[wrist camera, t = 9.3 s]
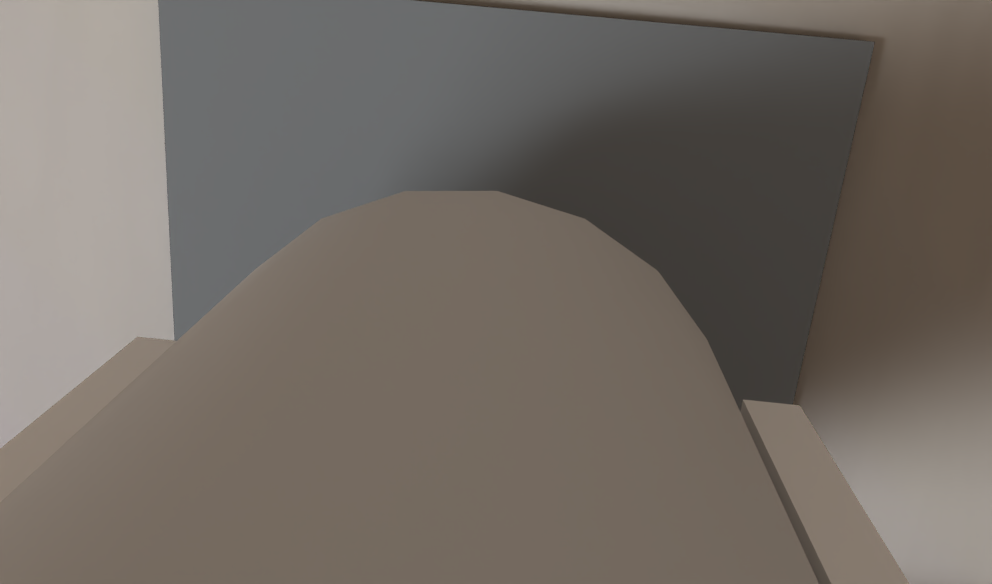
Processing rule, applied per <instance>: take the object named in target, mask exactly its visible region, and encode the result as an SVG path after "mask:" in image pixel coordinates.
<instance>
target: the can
mask: <svg viewBox="0 0 992 584" xmlns="http://www.w3.org/2000/svg"><path fill="white" fill-rule="evenodd" d="M0 584H819V583H818V580H817V578H816V576H815V574H814V572H813V569H812V567H811V565H810V563H809V561H808V559H807V556H806V554H805V552H804V550H803V548H802V545H801V543H800V541H799V539H798V537H797V535H796V532H795V530H794V528H793V526H792V524H791V521H790V519H789V517H788V515H787V513H786V511H785V508H784V506H783V504H782V502H781V500H780V497H779V495H778V493H777V491H776V489H775V487H774V484H773V482H772V480H771V478H770V476H769V474H768V471H767V469H766V467H765V465H764V463H763V460H762V458H761V456H760V454H759V452H758V450H757V447H756V445H755V443H754V441H753V439H752V436H751V434H750V432H749V430H748V428H747V426H746V423H745V421H744V419H743V417H742V415H741V412H740V410H739V408H738V406H737V404H736V402H735V399H734V397H733V395H732V393H731V391H730V388H729V386H728V384H727V382H726V380H725V378H724V375H723V373H722V371H721V369H720V367H719V365H718V362H717V360H716V358H715V356H714V354H713V351H712V349H711V347H710V345H709V343H708V341H707V339H706V337H705V336H704V334H703V333H702V332H701V330H700V329H699V328H698V326H697V325H696V323H695V322H694V321H693V319H692V318H691V316H690V315H689V314H688V312H687V311H686V309H685V308H684V307H683V305H682V304H681V302H680V301H679V300H678V298H677V297H676V295H675V294H674V293H673V291H672V290H671V288H670V287H669V286H668V284H667V283H666V281H665V280H664V279H663V277H662V276H661V274H660V273H659V272H658V271H657V270H656V269H655V268H653V267H652V266H650V265H649V264H648V263H646V262H645V261H643V260H642V259H641V258H639V257H638V256H636V255H635V254H634V253H632V252H631V251H629V250H628V249H627V248H625V247H624V246H622V245H621V244H620V243H618V242H617V241H615V240H614V239H613V238H611V237H610V236H608V235H607V234H606V233H604V232H603V231H601V230H600V229H599V228H597V227H596V226H594V225H593V224H592V223H590V222H589V221H587V220H586V219H584V218H581V217H578V216H575V215H572V214H568V213H565V212H562V211H559V210H556V209H553V208H549V207H546V206H543V205H540V204H537V203H534V202H531V201H527V200H524V199H521V198H518V197H515V196H512V195H509V194H505V193H502V192H499V191H404V192H401V193H398V194H394V195H391V196H388V197H385V198H382V199H379V200H376V201H373V202H370V203H367V204H364V205H361V206H358V207H355V208H352V209H349V210H346V211H343V212H340V213H337V214H334V215H331V216H328V217H325V218H322V219H320V220H319V221H318V222H316V223H315V224H314V225H312V226H311V227H310V228H308V229H307V230H306V231H304V232H303V233H302V234H301V235H299V236H298V237H297V238H295V239H294V240H293V241H291V242H290V243H289V244H287V245H286V246H285V247H284V248H282V249H281V250H280V251H278V252H277V253H276V254H274V255H273V256H272V257H270V258H269V259H268V260H267V261H265V262H264V263H263V264H261V265H260V266H259V267H257V268H256V269H255V270H254V271H253V272H252V273H251V274H249V275H248V276H247V277H246V278H245V279H244V280H243V281H242V282H241V283H240V284H238V285H237V286H236V287H235V288H234V289H233V290H232V291H231V292H230V293H229V294H228V295H226V296H225V297H224V298H223V299H222V300H221V301H220V302H219V303H218V304H217V305H216V306H214V307H213V308H212V309H211V310H210V311H209V312H208V313H207V314H206V315H205V316H203V317H202V318H201V319H200V320H199V321H198V322H197V323H196V324H195V325H194V326H193V327H191V328H190V329H189V330H188V331H187V332H186V333H185V334H184V335H183V336H182V337H181V338H179V339H178V340H177V341H176V342H175V343H174V344H173V345H172V346H171V347H170V348H168V349H167V350H166V351H165V352H164V353H163V354H162V355H161V356H160V357H159V358H158V359H156V360H155V361H154V362H153V363H152V364H151V365H150V366H149V367H148V368H147V369H146V370H144V371H143V372H142V373H141V374H140V375H139V376H138V377H137V378H136V379H135V380H133V381H132V382H131V383H130V384H129V385H128V386H127V387H126V388H125V389H124V390H123V391H121V392H120V393H119V394H118V395H117V396H116V397H115V398H114V399H113V400H112V401H111V402H109V403H108V404H107V405H106V406H105V407H104V408H103V409H102V410H101V411H100V412H98V413H97V414H96V415H95V416H94V417H93V418H92V419H91V420H90V421H89V422H88V423H86V424H85V425H84V426H83V427H82V428H81V429H80V430H79V431H78V432H77V433H75V434H74V435H73V436H72V437H71V438H70V439H69V440H68V441H67V442H66V443H65V444H63V445H62V446H61V447H60V448H59V449H58V450H57V451H56V452H55V453H54V454H53V455H51V456H50V457H49V458H48V459H47V460H46V461H45V462H44V463H43V464H42V465H40V466H39V467H38V468H37V469H36V470H35V471H34V472H33V473H32V474H31V475H30V476H28V477H27V478H26V479H25V480H24V481H23V482H22V483H21V484H20V485H19V486H18V487H16V488H15V489H14V490H13V491H12V492H11V493H10V494H9V495H8V496H7V497H5V498H4V499H3V500H2V501H1V502H0Z"/></svg>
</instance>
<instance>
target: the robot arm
mask: <svg viewBox="0 0 992 584" xmlns="http://www.w3.org/2000/svg"><path fill="white" fill-rule="evenodd" d="M175 342H176V341H173V340H163V339H154V338H144V337H137V338H136V339H134V340H133V341H132V342H131V343H129V344H128V345H127V346H126V347H124V348H123V349H122V350H121V351H120V352H118V353H117V354H116V355H115V356H113V357H112V358H111V359H110V360H109V361H107V362H106V363H105V364H104V365H102V366H101V367H100V368H99V369H98V370H96V371H95V372H94V373H93V374H91V375H90V376H89V377H88V378H86V379H85V380H84V381H83V382H82V383H80V384H79V385H78V386H77V387H75V388H74V389H73V390H72V391H71V392H69V393H68V394H67V395H66V396H64V397H63V398H62V399H61V400H60V401H58V402H57V403H56V404H55V405H53V406H52V407H51V408H50V409H48V410H47V411H46V412H45V413H44V414H42V415H41V416H40V417H39V418H37V419H36V420H35V421H34V422H33V423H31V424H30V425H29V426H28V427H26V428H25V429H24V430H23V431H22V432H20V433H19V434H18V435H17V436H15V437H14V438H13V439H12V440H10V441H9V442H8V443H7V444H6V445H4V446H3V447H2V448H1V449H0V502H1V501H2V500H3V499H4V498H5V497H7V496H8V495H9V494H10V493H11V492H12V491H13V490H14V489H15V488H16V487H18V486H19V485H20V484H21V483H22V482H23V481H24V480H25V479H26V478H27V477H28V476H30V475H31V474H32V473H33V472H34V471H35V470H36V469H37V468H38V467H39V466H40V465H42V464H43V463H44V462H45V461H46V460H47V459H48V458H49V457H50V456H51V455H53V454H54V453H55V452H56V451H57V450H58V449H59V448H60V447H61V446H62V445H63V444H65V443H66V442H67V441H68V440H69V439H70V438H71V437H72V436H73V435H74V434H75V433H77V432H78V431H79V430H80V429H81V428H82V427H83V426H84V425H85V424H86V423H88V422H89V421H90V420H91V419H92V418H93V417H94V416H95V415H96V414H97V413H98V412H100V411H101V410H102V409H103V408H104V407H105V406H106V405H107V404H108V403H109V402H111V401H112V400H113V399H114V398H115V397H116V396H117V395H118V394H119V393H120V392H121V391H123V390H124V389H125V388H126V387H127V386H128V385H129V384H130V383H131V382H132V381H133V380H135V379H136V378H137V377H138V376H139V375H140V374H141V373H142V372H143V371H144V370H146V369H147V368H148V367H149V366H150V365H151V364H152V363H153V362H154V361H155V360H156V359H158V358H159V357H160V356H161V355H162V354H163V353H164V352H165V351H166V350H167V349H168V348H170V347H171V346H172V345H173V344H174V343H175ZM740 412H741V415H742V417H743V419H744V421H745V423H746V426H747V428H748V430H749V432H750V434H751V436H752V439H753V441H754V443H755V445H756V447H757V450H758V452H759V454H760V456H761V458H762V460H763V463H764V465H765V467H766V469H767V471H768V474H769V476H770V478H771V480H772V482H773V484H774V487H775V489H776V491H777V493H778V495H779V497H780V500H781V502H782V504H783V506H784V508H785V511H786V513H787V515H788V517H789V519H790V521H791V524H792V526H793V528H794V530H795V532H796V535H797V537H798V539H799V541H800V543H801V545H802V548H803V550H804V552H805V554H806V556H807V559H808V561H809V563H810V565H811V567H812V569H813V572H814V574H815V576H816V578H817V580H818V583H819V584H909V582H908V581H907V579H906V578H905V576H904V574H903V573H902V571H901V569H900V568H899V566H898V564H897V563H896V561H895V560H894V558H893V556H892V555H891V553H890V551H889V550H888V548H887V547H886V545H885V543H884V542H883V540H882V538H881V537H880V535H879V534H878V532H877V530H876V529H875V527H874V525H873V524H872V522H871V520H870V519H869V517H868V516H867V514H866V512H865V511H864V509H863V507H862V506H861V504H860V503H859V501H858V499H857V498H856V496H855V494H854V493H853V491H852V489H851V488H850V486H849V485H848V483H847V481H846V480H845V478H844V476H843V475H842V473H841V472H840V470H839V468H838V467H837V465H836V463H835V462H834V460H833V459H832V457H831V455H830V454H829V452H828V450H827V449H826V447H825V445H824V444H823V442H822V441H821V439H820V437H819V436H818V434H817V432H816V431H815V429H814V428H813V426H812V424H811V423H810V421H809V419H808V418H807V416H806V415H805V413H804V411H803V410H802V408H801V406H800V405H791V404H782V403H772V402H762V401H753V400H743V402H742V406H741V411H740Z"/></svg>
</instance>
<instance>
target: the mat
mask: <svg viewBox="0 0 992 584" xmlns="http://www.w3.org/2000/svg"><path fill="white" fill-rule="evenodd" d="M158 5H159V26H160V47H161V68H162V88H163V109H164V130H165V151H166V172H167V193H168V213H169V234H170V255H171V276H172V297H173V318H174V338H175V341H177V340H178V339H179V338H181V337H182V336H183V335H184V334H185V333H186V332H187V331H188V330H189V329H190V328H191V327H193V326H194V325H195V324H196V323H197V322H198V321H199V320H200V319H201V318H202V317H203V316H205V315H206V314H207V313H208V312H209V311H210V310H211V309H212V308H213V307H214V306H216V305H217V304H218V303H219V302H220V301H221V300H222V299H223V298H224V297H225V296H226V295H228V294H229V293H230V292H231V291H232V290H233V289H234V288H235V287H236V286H237V285H238V284H240V283H241V282H242V281H243V280H244V279H245V278H246V277H247V276H248V275H249V274H251V273H252V272H253V271H254V270H255V269H256V268H257V267H259V266H260V265H261V264H263V263H264V262H265V261H267V260H268V259H269V258H270V257H272V256H273V255H274V254H276V253H277V252H278V251H280V250H281V249H282V248H284V247H285V246H286V245H287V244H289V243H290V242H291V241H293V240H294V239H295V238H297V237H298V236H299V235H301V234H302V233H303V232H304V231H306V230H307V229H308V228H310V227H311V226H312V225H314V224H315V223H316V222H318V221H319V220H320V219H322V218H325V217H328V216H331V215H334V214H337V213H340V212H343V211H346V210H349V209H352V208H355V207H358V206H361V205H364V204H367V203H370V202H373V201H376V200H379V199H382V198H385V197H388V196H391V195H394V194H398V193H401V192H404V191H499V192H502V193H505V194H509V195H512V196H515V197H518V198H521V199H524V200H527V201H531V202H534V203H537V204H540V205H543V206H546V207H549V208H553V209H556V210H559V211H562V212H565V213H568V214H572V215H575V216H578V217H581V218H584V219H586V220H587V221H589V222H590V223H592V224H593V225H594V226H596V227H597V228H599V229H600V230H601V231H603V232H604V233H606V234H607V235H608V236H610V237H611V238H613V239H614V240H615V241H617V242H618V243H620V244H621V245H622V246H624V247H625V248H627V249H628V250H629V251H631V252H632V253H634V254H635V255H636V256H638V257H639V258H641V259H642V260H643V261H645V262H646V263H648V264H649V265H650V266H652V267H653V268H655V269H656V270H657V271H658V272H659V273H660V274H661V276H662V277H663V279H664V280H665V281H666V283H667V284H668V286H669V287H670V288H671V290H672V291H673V293H674V294H675V295H676V297H677V298H678V300H679V301H680V302H681V304H682V305H683V307H684V308H685V309H686V311H687V312H688V314H689V315H690V316H691V318H692V319H693V321H694V322H695V323H696V325H697V326H698V328H699V329H700V330H701V332H702V333H703V334H704V336H705V337H706V339H707V341H708V343H709V345H710V347H711V349H712V351H713V354H714V356H715V358H716V360H717V362H718V365H719V367H720V369H721V371H722V373H723V375H724V378H725V380H726V382H727V384H728V386H729V388H730V391H731V393H732V395H733V397H734V399H735V402H736V404H737V406H738V408H739V410H740V411H741V406H742V402H743V400H753V401H762V402H772V403H782V404H791V405H793V401H794V396H795V392H796V388H797V383H798V379H799V374H800V370H801V366H802V361H803V357H804V352H805V348H806V343H807V339H808V335H809V330H810V326H811V321H812V317H813V313H814V308H815V304H816V299H817V295H818V290H819V286H820V282H821V277H822V273H823V268H824V264H825V260H826V255H827V251H828V246H829V242H830V237H831V233H832V229H833V224H834V220H835V215H836V211H837V207H838V202H839V198H840V193H841V189H842V185H843V180H844V176H845V171H846V167H847V162H848V158H849V154H850V149H851V145H852V140H853V136H854V132H855V127H856V123H857V118H858V114H859V109H860V105H861V101H862V96H863V92H864V87H865V83H866V79H867V74H868V70H869V65H870V61H871V56H872V52H873V48H874V43H875V42H871V41H861V40H850V39H839V38H828V37H817V36H806V35H794V34H783V33H772V32H761V31H750V30H739V29H728V28H717V27H705V26H694V25H683V24H672V23H661V22H650V21H639V20H628V19H616V18H605V17H594V16H583V15H572V14H561V13H550V12H539V11H527V10H516V9H505V8H494V7H483V6H472V5H461V4H450V3H438V2H427V1H416V0H158Z"/></svg>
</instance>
